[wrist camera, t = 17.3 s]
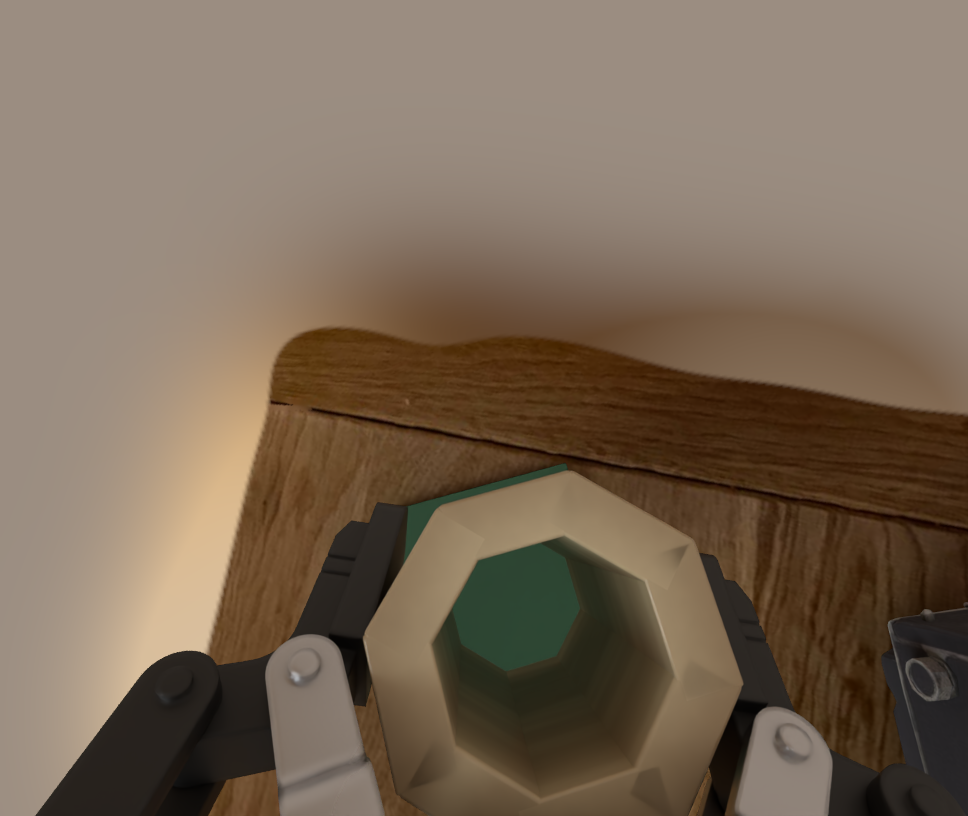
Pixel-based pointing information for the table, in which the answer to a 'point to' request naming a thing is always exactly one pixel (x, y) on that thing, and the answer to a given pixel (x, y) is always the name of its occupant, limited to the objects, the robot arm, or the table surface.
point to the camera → (932, 694)
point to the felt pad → (509, 592)
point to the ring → (555, 665)
